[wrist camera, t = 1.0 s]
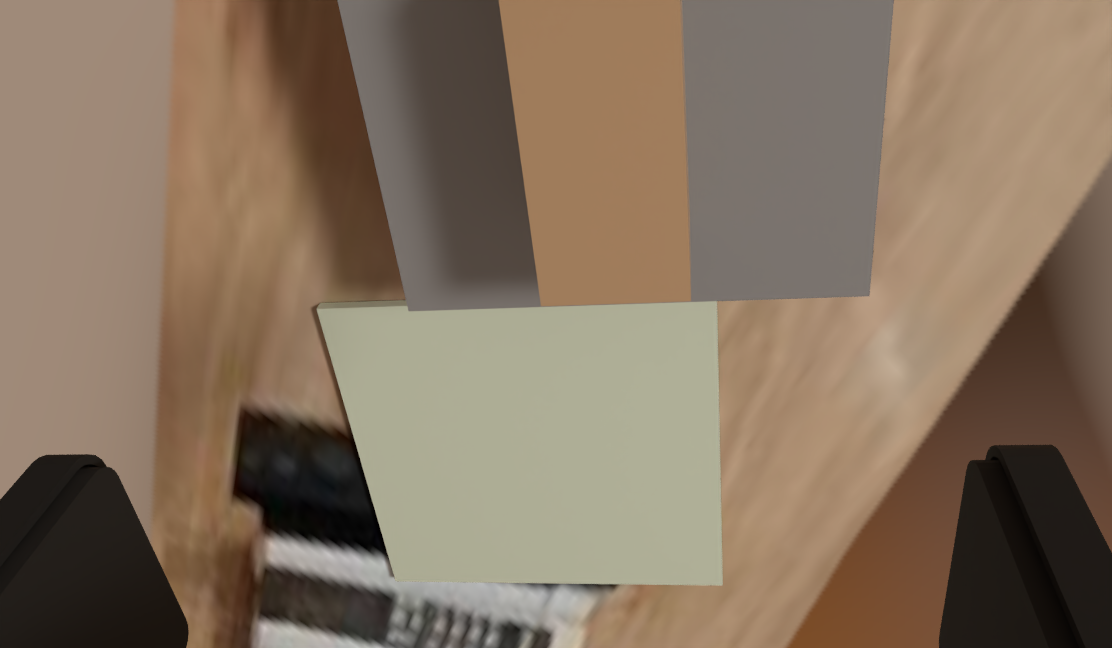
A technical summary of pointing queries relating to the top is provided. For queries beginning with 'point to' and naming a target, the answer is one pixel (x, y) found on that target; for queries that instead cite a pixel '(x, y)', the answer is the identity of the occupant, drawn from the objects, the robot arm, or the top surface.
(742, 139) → the lid
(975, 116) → the top surface
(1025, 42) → the top surface
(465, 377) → the mat
